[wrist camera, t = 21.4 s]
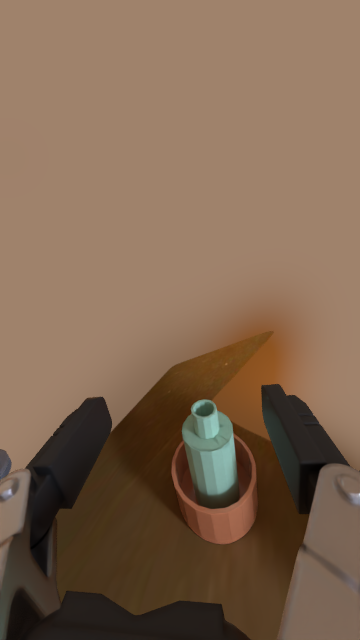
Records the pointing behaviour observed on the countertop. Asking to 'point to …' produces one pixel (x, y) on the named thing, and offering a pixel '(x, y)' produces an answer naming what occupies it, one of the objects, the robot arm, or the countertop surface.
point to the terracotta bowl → (221, 521)
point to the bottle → (211, 455)
